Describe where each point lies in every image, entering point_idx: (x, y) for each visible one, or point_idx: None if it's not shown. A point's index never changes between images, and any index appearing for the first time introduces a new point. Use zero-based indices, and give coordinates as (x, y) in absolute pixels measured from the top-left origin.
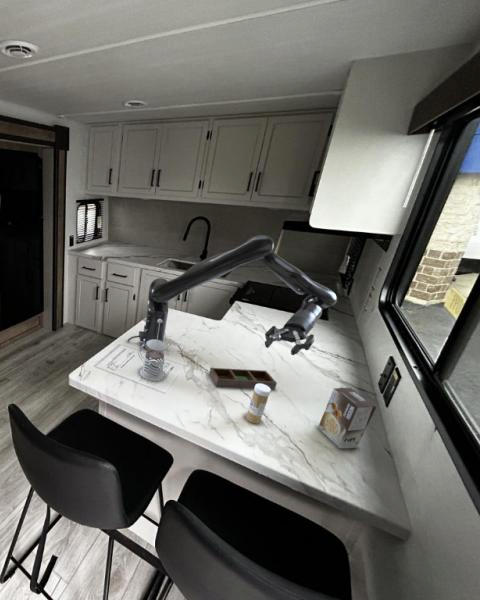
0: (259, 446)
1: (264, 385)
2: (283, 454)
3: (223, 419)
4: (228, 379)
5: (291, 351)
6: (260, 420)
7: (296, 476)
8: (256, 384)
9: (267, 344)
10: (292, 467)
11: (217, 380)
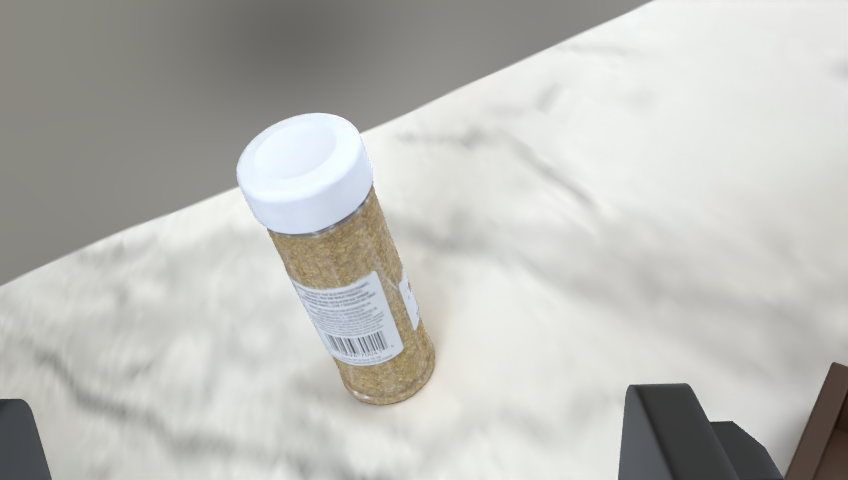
0: (263, 240)
1: (300, 175)
2: (159, 299)
3: (490, 215)
4: (809, 462)
5: (16, 408)
6: (343, 380)
7: (87, 250)
8: (353, 134)
9: (629, 408)
10: (109, 273)
11: (837, 371)
